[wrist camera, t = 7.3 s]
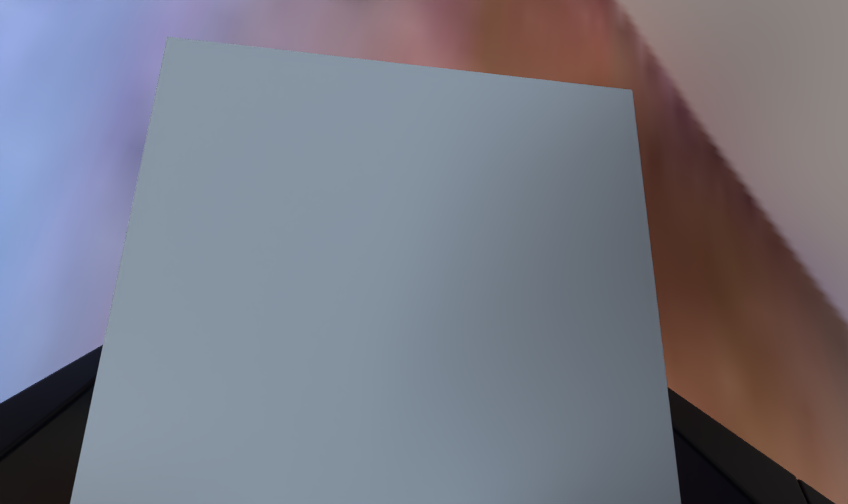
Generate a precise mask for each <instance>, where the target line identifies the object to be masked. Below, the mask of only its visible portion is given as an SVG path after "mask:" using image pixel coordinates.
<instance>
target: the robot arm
mask: <svg viewBox="0 0 848 504" xmlns="http://www.w3.org/2000/svg"><path fill="white" fill-rule="evenodd" d="M102 348H103V345H102V346H100V347H98V348H96V349H95V350H93V351H91V352H89V353H88V354H86V355H84V356H82V357H81V358H79V359H77V360H75V361H74V362H72V363H70V364H68V365H67V366H65V367H63V368H61V369H60V370H58V371H56V372H54V373H53V374H51V375H49V376H47V377H46V378H44V379H42V380H40V381H39V382H37V383H35V384H33V385H32V386H30V387H28V388H26V389H25V390H23V391H21V392H19V393H18V394H16V395H14V396H12V397H11V398H9V399H7V400H5V401H4V402H2V403H0V504H70V501H71V497H72V492H73V487H74V482H75V477H76V473H77V468H78V463H79V458H80V453H81V449H82V444H83V439H84V434H85V429H86V424H87V420H88V415H89V410H90V405H91V400H92V396H93V391H94V386H95V381H96V376H97V372H98V367H99V362H100V357H101V352H102ZM667 389H668V397H669V405H670V414H671V422H672V431H673V439H674V448H675V456H676V464H677V473H678V481H679V490H680V498H681V504H835V503H833V502H832V501H830V500H829V499H827V498H826V497H825V496H823V495H822V494H820V493H819V492H817V491H816V490H815V489H813V488H812V487H810V486H809V485H807V484H806V483H805V482H803V481H802V480H799V479H798V480H797V479H796V477H795V476H794V475H793V474H792V473H790V472H789V471H787V470H786V469H784V468H783V467H781V466H780V465H779V464H777V463H776V462H774V461H773V460H771V459H770V458H769V457H767V456H766V455H764V454H763V453H761V452H760V451H759V450H757V449H756V448H754V447H753V446H751V445H750V444H748V443H747V442H746V441H744V440H743V439H741V438H740V437H738V436H737V435H736V434H734V433H733V432H731V431H730V430H728V429H727V428H726V427H724V426H723V425H721V424H720V423H718V422H717V421H715V420H714V419H713V418H711V417H710V416H708V415H707V414H705V413H704V412H703V411H701V410H700V409H698V408H697V407H695V406H694V405H693V404H691V403H690V402H688V401H687V400H685V399H684V398H683V397H681V396H680V395H678V394H677V393H675V392H674V391H672V390H671V389H670V388H668V387H667Z"/></svg>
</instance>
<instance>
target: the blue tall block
mask: <svg viewBox="0 0 848 504" xmlns="http://www.w3.org/2000/svg"><path fill="white" fill-rule="evenodd" d="M70 504H681V498H680V490H679V481H678V473H677V464H676V456H675V448H674V439H673V431H672V422H671V414H670V405H669V397H668V389H667V380H666V372H665V363H664V355H663V346H662V338H661V330H660V321H659V313H658V304H657V296H656V287H655V279H654V270H653V262H652V254H651V245H650V237H649V228H648V220H647V211H646V203H645V195H644V186H643V178H642V169H641V161H640V152H639V144H638V136H637V127H636V119H635V110H634V102H633V93H632V90H627V89H619V88H610V87H601V86H592V85H584V84H575V83H566V82H558V81H549V80H540V79H531V78H523V77H514V76H505V75H496V74H488V73H479V72H470V71H462V70H453V69H444V68H435V67H427V66H418V65H409V64H400V63H392V62H383V61H374V60H366V59H357V58H348V57H339V56H331V55H322V54H313V53H305V52H296V51H287V50H278V49H270V48H261V47H252V46H243V45H235V44H226V43H217V42H209V41H200V40H191V39H182V38H174V37H167V40H166V45H165V50H164V54H163V59H162V64H161V69H160V74H159V78H158V83H157V88H156V93H155V98H154V102H153V107H152V112H151V117H150V122H149V127H148V131H147V136H146V141H145V146H144V151H143V155H142V160H141V165H140V170H139V175H138V179H137V184H136V189H135V194H134V199H133V203H132V208H131V213H130V218H129V223H128V227H127V232H126V237H125V242H124V247H123V251H122V256H121V261H120V266H119V271H118V276H117V280H116V285H115V290H114V295H113V300H112V304H111V309H110V314H109V319H108V324H107V328H106V333H105V338H104V343H103V348H102V352H101V357H100V362H99V367H98V372H97V376H96V381H95V386H94V391H93V396H92V400H91V405H90V410H89V415H88V420H87V424H86V429H85V434H84V439H83V444H82V449H81V453H80V458H79V463H78V468H77V473H76V477H75V482H74V487H73V492H72V497H71V501H70Z"/></svg>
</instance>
